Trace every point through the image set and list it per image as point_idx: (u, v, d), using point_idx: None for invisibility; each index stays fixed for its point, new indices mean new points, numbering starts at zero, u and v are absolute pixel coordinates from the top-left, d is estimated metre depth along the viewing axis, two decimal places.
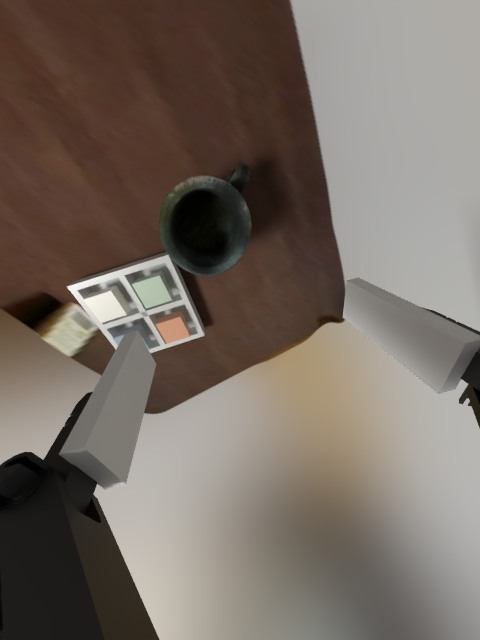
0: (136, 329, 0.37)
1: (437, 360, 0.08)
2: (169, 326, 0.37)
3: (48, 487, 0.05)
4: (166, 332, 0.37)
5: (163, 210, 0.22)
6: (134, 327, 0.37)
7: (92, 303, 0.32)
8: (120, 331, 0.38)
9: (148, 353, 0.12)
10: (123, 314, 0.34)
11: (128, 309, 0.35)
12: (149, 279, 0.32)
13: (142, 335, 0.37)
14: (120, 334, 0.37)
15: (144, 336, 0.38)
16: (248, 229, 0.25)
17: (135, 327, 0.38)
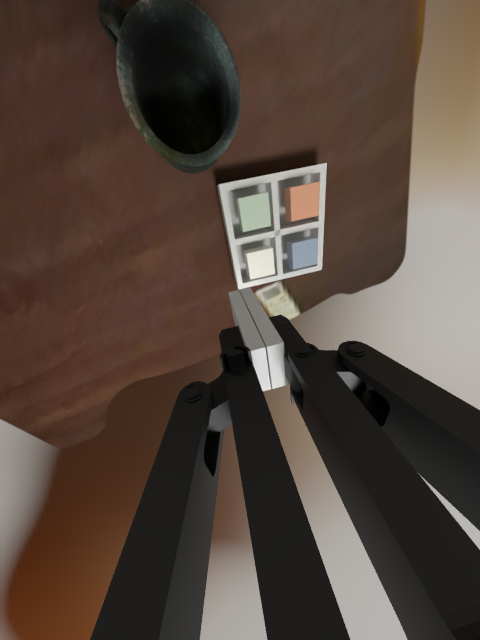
0: (291, 244, 0.35)
1: None
2: (298, 205, 0.31)
3: (252, 375, 0.08)
4: (305, 211, 0.32)
5: (162, 152, 0.21)
6: (288, 247, 0.36)
7: (255, 273, 0.36)
8: (289, 262, 0.38)
9: None
10: (271, 250, 0.34)
11: (268, 246, 0.35)
12: (240, 211, 0.30)
13: (299, 240, 0.35)
14: (291, 262, 0.37)
15: (301, 239, 0.35)
16: (177, 1, 0.16)
17: (288, 246, 0.36)
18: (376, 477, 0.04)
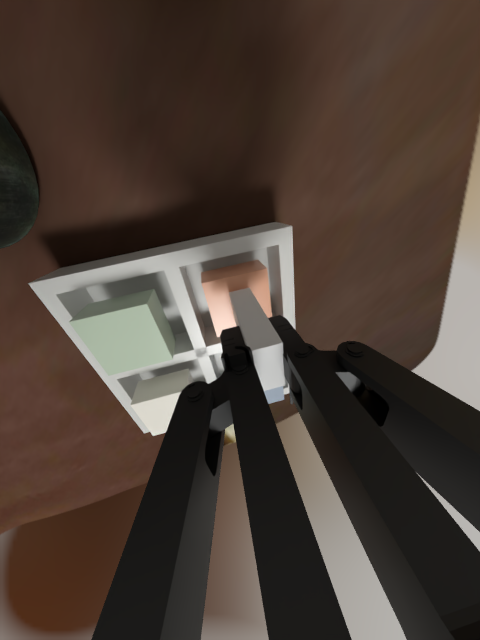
0: None
1: None
2: (226, 311, 0.15)
3: (253, 375, 0.08)
4: None
5: None
6: None
7: (160, 427, 0.18)
8: None
9: None
10: None
11: (184, 377, 0.18)
12: (88, 343, 0.13)
13: None
14: None
15: None
16: None
17: None
18: (375, 477, 0.04)
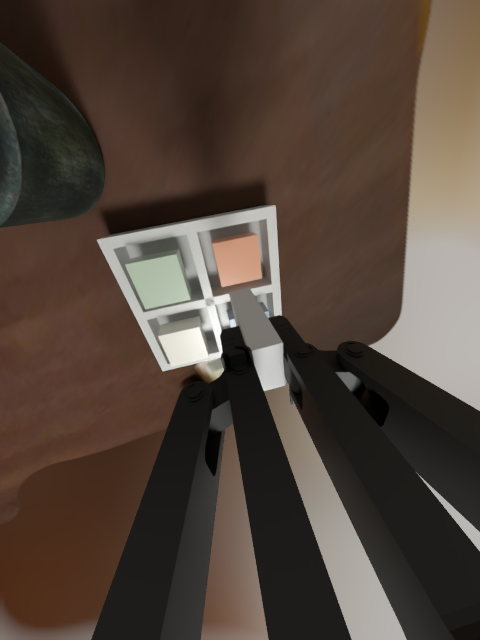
0: (229, 319, 0.23)
1: None
2: (229, 266, 0.21)
3: (252, 375, 0.08)
4: (240, 274, 0.22)
5: None
6: None
7: (177, 359, 0.24)
8: None
9: None
10: (198, 330, 0.23)
11: (196, 320, 0.24)
12: (134, 282, 0.19)
13: None
14: None
15: None
16: None
17: None
18: (375, 477, 0.04)
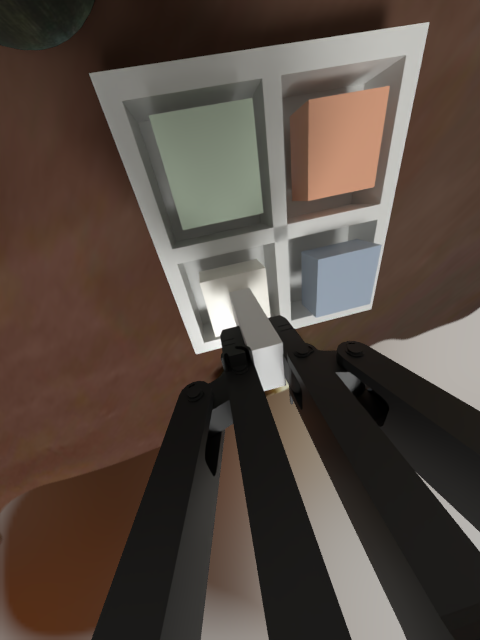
0: (314, 262, 0.14)
1: None
2: (327, 157, 0.12)
3: (253, 375, 0.08)
4: (343, 176, 0.13)
5: None
6: (306, 267, 0.15)
7: (225, 324, 0.16)
8: (305, 298, 0.17)
9: None
10: (262, 274, 0.14)
11: (255, 263, 0.15)
12: (166, 165, 0.10)
13: (335, 252, 0.14)
14: (311, 300, 0.16)
15: (339, 249, 0.14)
16: None
17: (306, 265, 0.15)
18: (375, 477, 0.04)
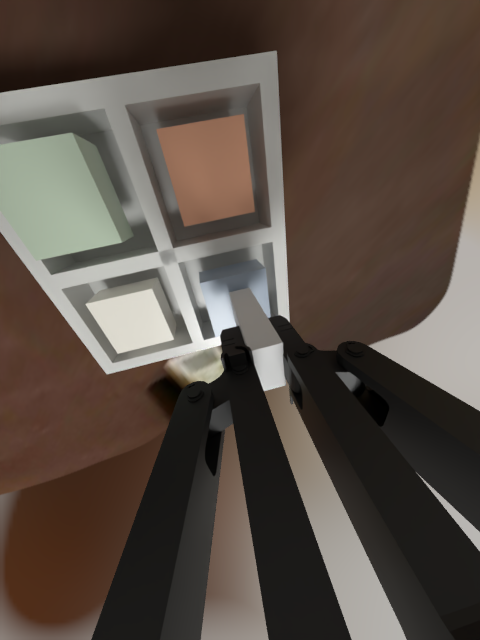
0: None
1: None
2: (194, 184, 0.12)
3: (253, 375, 0.08)
4: (216, 201, 0.12)
5: None
6: None
7: (125, 342, 0.16)
8: None
9: None
10: (151, 295, 0.14)
11: (151, 282, 0.15)
12: None
13: (221, 275, 0.14)
14: None
15: (228, 271, 0.14)
16: None
17: None
18: (375, 477, 0.04)
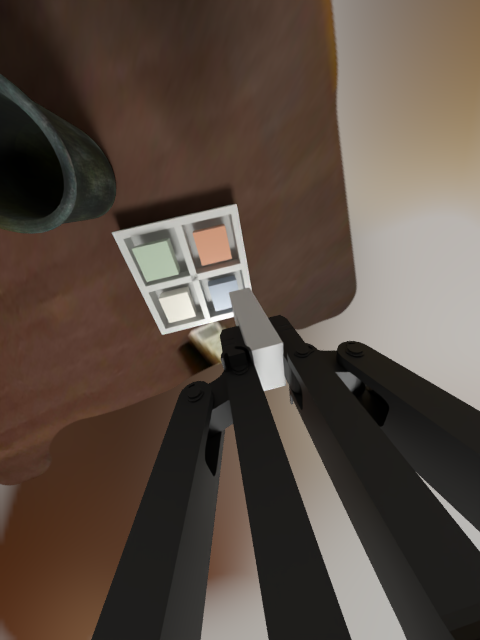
0: None
1: None
2: (206, 250, 0.29)
3: (253, 375, 0.08)
4: (215, 255, 0.30)
5: None
6: None
7: (173, 317, 0.34)
8: None
9: None
10: (186, 294, 0.32)
11: (185, 288, 0.33)
12: (138, 261, 0.27)
13: (217, 283, 0.32)
14: None
15: (220, 281, 0.33)
16: None
17: None
18: (375, 477, 0.04)
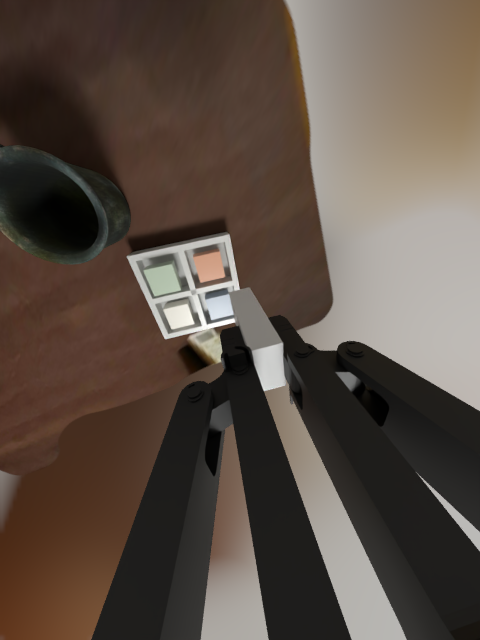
0: (205, 299, 0.39)
1: None
2: (204, 270, 0.35)
3: (253, 375, 0.08)
4: (211, 274, 0.36)
5: (39, 256, 0.23)
6: None
7: (175, 324, 0.40)
8: None
9: None
10: (187, 306, 0.38)
11: (186, 300, 0.39)
12: (148, 280, 0.33)
13: (213, 296, 0.39)
14: None
15: (215, 295, 0.39)
16: (25, 151, 0.19)
17: None
18: (375, 477, 0.04)
